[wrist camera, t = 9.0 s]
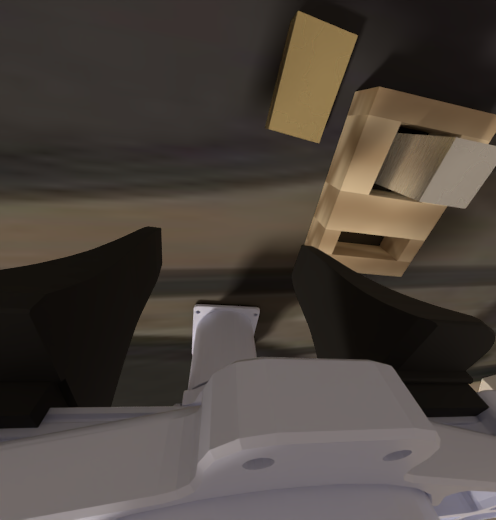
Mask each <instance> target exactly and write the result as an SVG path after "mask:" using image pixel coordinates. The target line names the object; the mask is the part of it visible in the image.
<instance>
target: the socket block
mask: <svg viewBox="0 0 496 520" xmlns="http://www.w3.org/2000/svg"><path fill="white" fill-rule="evenodd" d="M399 127H403V128H408V129H413V130H417V131H422V132H427V133H429V134H428V135H431V136H445V137H457V138H462V139H466V140H471V141H475V142H480V143H484V144H489V142H490V140H491V139H492V137H493V136H494V134H495V133H496V115H495V114H491V113H487V112H483V111H478V110H474V109H470V108H466V107H462V106H458V105H454V104H450V103H446V102H441V101H437V100H433V99H429V98H425V97H421V96H417V95H413V94H408V93H404V92H400V91H396V90H392V89H388V88H384V87H380V86H379V87H375V88H370V89H366V90H361V91H356V92H355V94H354V97H353V100H352V103H351V106H350V109H349V112H348V115H347V118H346V121H345V124H344V127H343V130H342V133H341V136H340V139H339V142H338V145H337V148H336V151H335V154H334V157H333V160H332V163H331V166H330V169H329V172H328V175H327V178H326V181H325V184H324V187H323V190H322V193H321V196H320V199H319V202H318V205H317V208H316V211H315V214H314V217H313V220H312V223H311V226H310V229H309V232H308V235H307V238H306V241H305V244H304V245H306V246H313V247H315V248H317V249H319V250H321V251H323V252H324V253H326V254H328V255H329V256H331V257H332V258H334V259H335V260H337V261H339V262H340V263H342V264H343V265H345V266H347V267H348V268H350V269H352V270H353V271H355V272H357V273H363V274H375V275H387V276H399V277H401V276H402V275H403V273H404V272H405V270H406V269H407V267H408V265H409V264H410V262H411V261H412V259H413V258H414V256H415V255H416V253H417V252H418V250H419V249H420V247H421V246H422V244H423V243H424V241H425V240H426V238H427V237H428V235H429V233H430V232H431V230H432V229H433V227H434V226H435V224H436V223H437V221H438V220H439V218H440V217H441V215H442V214H443V212H444V211H445V209H446V208H447V206H445V205H438V204H432V203H425V202H419V201H417V200H414V199H412V198H409V197H407V196H405V195H402V194H400V193H396V192H389V191H383V190H376V189H372V187H373V184H374V182H375V180H376V178H377V175H378V173H379V171H380V169H381V167H382V164H383V162H384V160H385V158H386V155H387V153H388V151H389V149H390V147H391V144H392V142H393V140H394V138H395V135H396V133H397V131H398V129H399ZM341 231H346V232H355V233H363V234H371V235H380V236H384V238H383V240H382V242H381V244H380V246H374V245H365V244H355V243H346V242H337V241H338V238H339V236H340V234H341Z"/></svg>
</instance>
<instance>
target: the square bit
mask: <svg viewBox="0 0 496 520" xmlns="http://www.w3.org/2000/svg"><path fill="white" fill-rule="evenodd" d="M495 166H496V146H494V145H489V144H484V143H480V142H475V141H471V140H466V139H462V138H457V137H445V136H431V135H417V134H403V133H396V135H395V138H394V140H393V142H392V144H391V147H390V149H389V151H388V153H387V155H386V158H385V160H384V162H383V164H382V167H381V169H380V171H379V173H378V175H377V178H376V180H375V182H374V183H376V184H378V185H380V186H383V187H385V188H388V189H390V190H392V191H395V192H397V193H400V194H402V195H405V196H407V197H409V198H412V199H414V200H417V201H419V202H425V203H432V204H438V205H445V206H451V207H458V208H464V209H466V207H467V206H468V205H469V203H470V202H471V200H472V199H473V197H474V196H475V195H476V193H477V192H478V190H479V189H480V188H481V186H482V185H483V183H484V182H485V180H486V179H487V178H488V176H489V175H490V173H491V172H492V170H493V169H494V168H495Z"/></svg>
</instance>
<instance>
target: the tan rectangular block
mask: <svg viewBox="0 0 496 520" xmlns="http://www.w3.org/2000/svg"><path fill="white" fill-rule="evenodd" d="M357 37H358V35H356V34H353V33H351V32H348V31H346V30H344V29H341V28H339V27H336V26H334V25H332V24H329V23H327V22H324V21H322V20H319V19H317V18H315V17H312V16H310V15H307V14H305V13H303V12H300V11H297V13H296V14H295V16H294V17H293V19H292V20H291V22H290V26H289V30H288V34H287V38H286V43H285V47H284V51H283V55H282V59H281V63H280V67H279V72H278V76H277V80H276V84H275V88H274V92H273V97H272V101H271V105H270V109H269V113H268V117H267V121H266V126H265V128H266V129H270V130H273V131H277V132H280V133H284V134H287V135H291V136H294V137H298V138H301V139H305V140H308V141H312V142H316V143H319V142H320V139H321V136H322V134H323V131H324V128H325V125H326V123H327V120H328V117H329V114H330V111H331V109H332V106H333V103H334V100H335V98H336V95H337V92H338V89H339V87H340V84H341V81H342V78H343V76H344V73H345V70H346V67H347V65H348V62H349V59H350V56H351V54H352V51H353V48H354V45H355V43H356V40H357Z"/></svg>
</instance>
